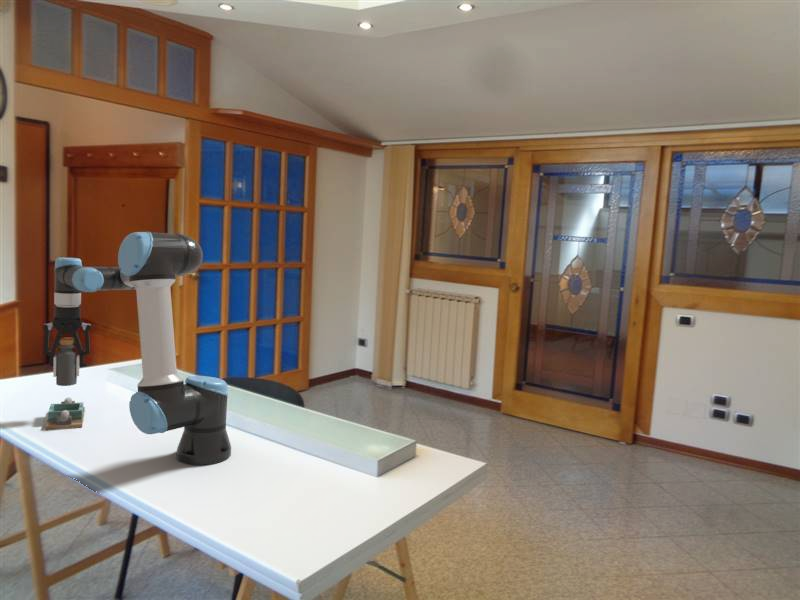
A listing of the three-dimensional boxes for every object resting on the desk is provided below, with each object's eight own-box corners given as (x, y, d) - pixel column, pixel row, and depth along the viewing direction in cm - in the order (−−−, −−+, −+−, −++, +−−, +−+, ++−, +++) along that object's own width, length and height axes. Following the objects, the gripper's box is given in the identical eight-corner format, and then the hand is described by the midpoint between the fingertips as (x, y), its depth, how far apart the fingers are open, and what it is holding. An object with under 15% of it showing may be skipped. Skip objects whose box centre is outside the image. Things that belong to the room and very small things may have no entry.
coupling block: (81, 427, 186) (82, 413, 186) (45, 430, 182) (45, 415, 181) (84, 410, 203) (84, 396, 203) (51, 412, 199) (51, 398, 198)
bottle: (80, 382, 194) (81, 338, 193) (68, 386, 188) (69, 341, 187) (64, 380, 195) (64, 336, 193) (52, 385, 189) (52, 339, 187)
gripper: (100, 304, 196) (99, 371, 199) (35, 303, 188) (34, 373, 190) (100, 307, 190) (98, 377, 192) (32, 306, 181) (31, 379, 184)
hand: (66, 375), depth 191 cm, fingers closed on bottle, 6 cm apart
